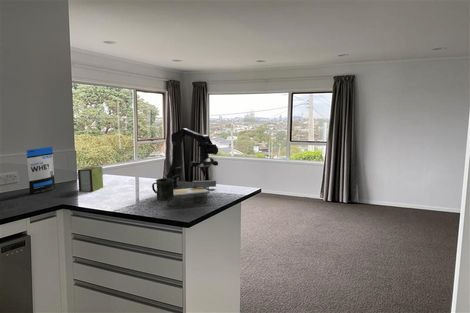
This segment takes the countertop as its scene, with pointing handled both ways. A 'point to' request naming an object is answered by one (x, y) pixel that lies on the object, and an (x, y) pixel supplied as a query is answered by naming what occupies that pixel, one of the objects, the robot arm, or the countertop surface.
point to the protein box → (90, 179)
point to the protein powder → (40, 170)
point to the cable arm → (204, 183)
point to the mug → (164, 189)
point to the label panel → (190, 191)
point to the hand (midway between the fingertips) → (204, 176)
